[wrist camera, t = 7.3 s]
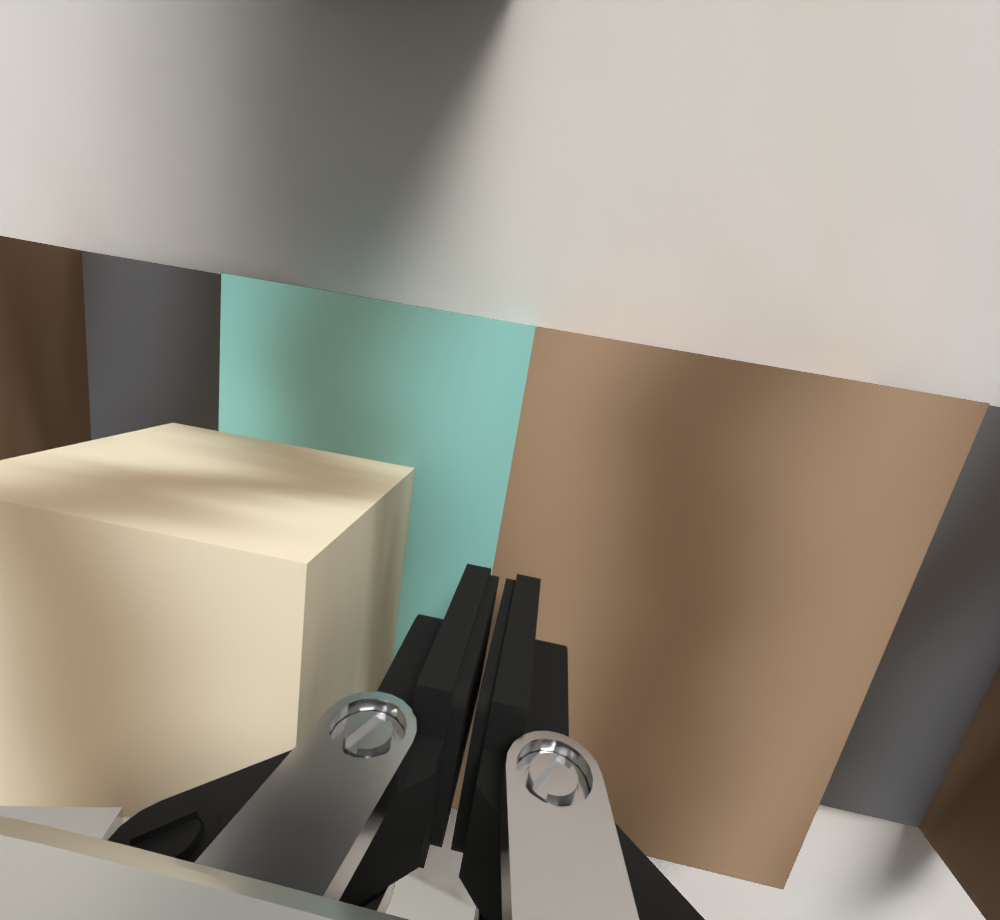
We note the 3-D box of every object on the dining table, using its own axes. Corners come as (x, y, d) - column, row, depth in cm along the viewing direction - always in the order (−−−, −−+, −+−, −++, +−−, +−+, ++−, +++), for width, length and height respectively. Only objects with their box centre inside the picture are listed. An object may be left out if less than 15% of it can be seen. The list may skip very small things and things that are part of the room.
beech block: (414, 467, 11) (306, 564, 7) (389, 686, 13) (286, 894, 8) (173, 422, 12) (-95, 480, 7) (176, 638, 13) (-41, 808, 9)
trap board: (1164, 435, 12) (1388, 471, 9) (958, 826, 16) (1066, 959, 12) (48, 245, 15) (-103, 217, 11) (73, 622, 18) (-39, 687, 15)
